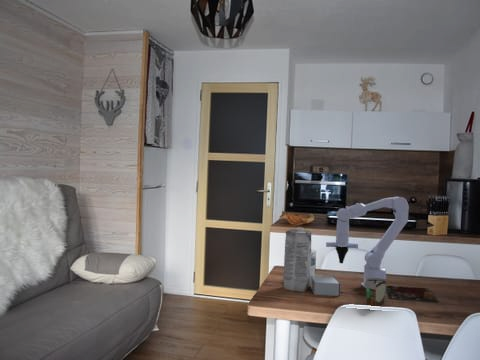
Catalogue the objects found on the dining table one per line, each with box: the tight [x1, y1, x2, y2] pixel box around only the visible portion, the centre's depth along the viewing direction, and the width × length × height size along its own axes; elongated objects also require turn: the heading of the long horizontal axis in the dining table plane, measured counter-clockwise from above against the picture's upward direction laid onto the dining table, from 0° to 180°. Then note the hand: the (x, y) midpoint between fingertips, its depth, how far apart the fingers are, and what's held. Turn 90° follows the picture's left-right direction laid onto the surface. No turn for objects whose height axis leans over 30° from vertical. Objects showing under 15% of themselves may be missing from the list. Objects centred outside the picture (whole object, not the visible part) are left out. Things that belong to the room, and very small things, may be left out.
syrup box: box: [309, 249, 317, 283], centre depth 198 cm, size 6×6×14 cm
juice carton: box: [283, 227, 312, 293], centre depth 180 cm, size 9×10×27 cm
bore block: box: [309, 274, 341, 297], centre depth 179 cm, size 10×14×5 cm
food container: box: [365, 278, 388, 307], centre depth 161 cm, size 12×6×10 cm, turn 141°
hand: (341, 262), depth 193 cm, fingers closed
